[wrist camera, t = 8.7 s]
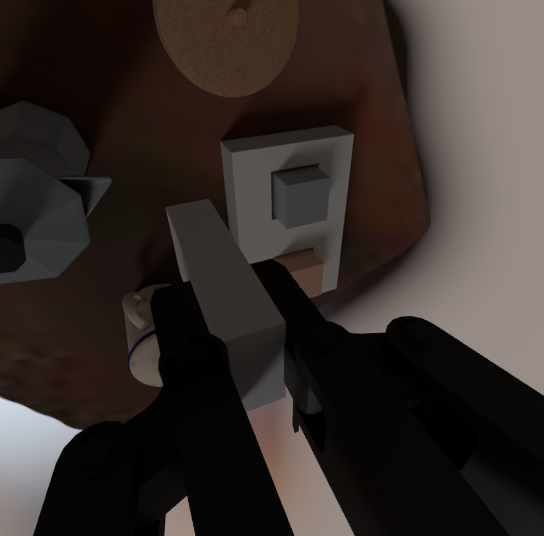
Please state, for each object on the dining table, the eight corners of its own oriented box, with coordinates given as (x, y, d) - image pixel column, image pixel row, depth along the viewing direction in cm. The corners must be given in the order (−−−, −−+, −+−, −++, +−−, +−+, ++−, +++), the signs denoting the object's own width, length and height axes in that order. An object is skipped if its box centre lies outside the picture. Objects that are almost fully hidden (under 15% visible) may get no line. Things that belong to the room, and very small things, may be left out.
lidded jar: (285, -2, 33) (337, -4, 26) (226, 104, 36) (259, 128, 29) (180, -109, 27) (213, -149, 20) (120, 32, 30) (130, 40, 23)
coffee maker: (74, 74, 30) (63, 129, 17) (128, 167, 36) (152, 264, 23) (-107, 144, 28) (-284, 269, 15) (-20, 231, 34) (-90, 378, 21)
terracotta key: (272, 254, 46) (286, 273, 42) (307, 245, 47) (323, 263, 44) (272, 284, 49) (286, 305, 45) (305, 275, 50) (321, 294, 47)
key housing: (220, 141, 38) (231, 152, 35) (335, 125, 42) (354, 134, 39) (236, 297, 51) (245, 315, 48) (322, 273, 55) (336, 288, 52)
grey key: (270, 170, 39) (286, 185, 36) (311, 163, 41) (330, 177, 37) (270, 211, 42) (286, 229, 39) (309, 203, 44) (327, 219, 40)
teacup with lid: (206, 309, 50) (231, 372, 42) (151, 345, 50) (164, 416, 41) (155, 252, 42) (172, 315, 34) (88, 294, 42) (89, 369, 33)
